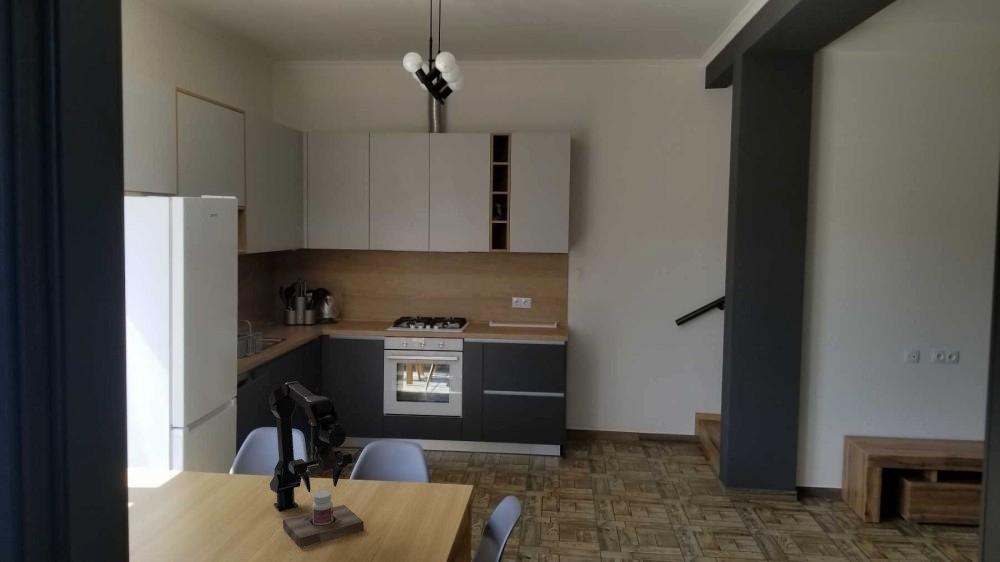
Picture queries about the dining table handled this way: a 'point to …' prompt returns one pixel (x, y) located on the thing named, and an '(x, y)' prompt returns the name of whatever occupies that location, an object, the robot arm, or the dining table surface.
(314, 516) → the pill bottle
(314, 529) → the socket board
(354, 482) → the dining table surface
